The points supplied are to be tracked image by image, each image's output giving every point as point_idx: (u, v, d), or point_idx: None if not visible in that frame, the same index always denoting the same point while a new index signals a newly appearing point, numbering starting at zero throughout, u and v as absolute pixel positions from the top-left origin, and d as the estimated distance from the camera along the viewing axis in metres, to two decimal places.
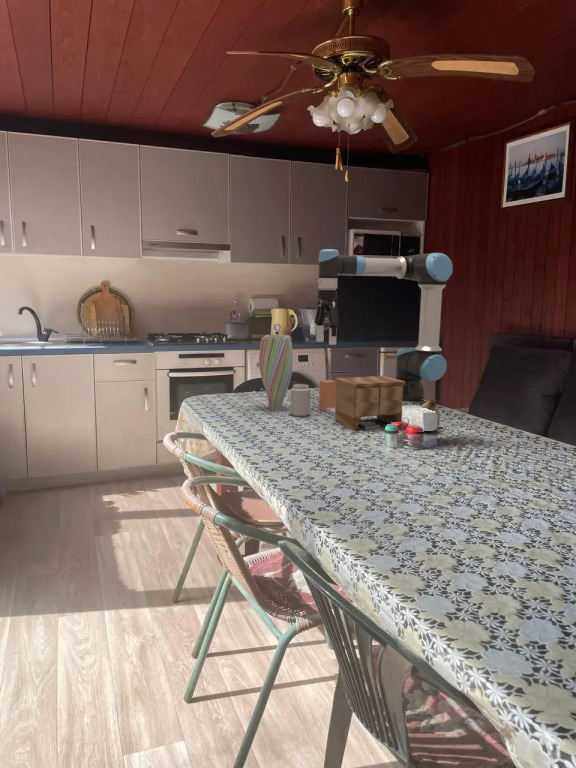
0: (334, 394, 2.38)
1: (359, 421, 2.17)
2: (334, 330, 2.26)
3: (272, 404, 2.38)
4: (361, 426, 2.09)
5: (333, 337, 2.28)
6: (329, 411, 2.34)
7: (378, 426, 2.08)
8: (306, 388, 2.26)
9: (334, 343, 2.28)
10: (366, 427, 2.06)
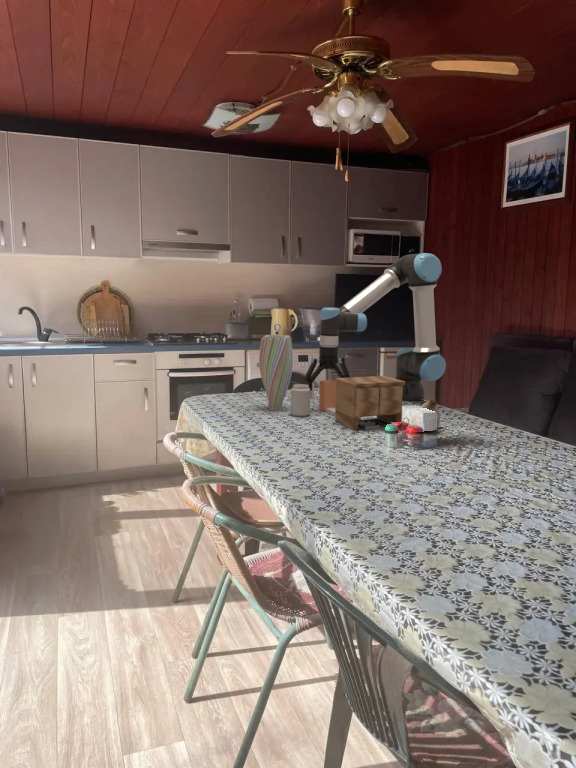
0: (334, 394, 2.38)
1: (359, 421, 2.17)
2: (308, 384, 2.36)
3: (272, 404, 2.38)
4: (361, 426, 2.09)
5: (311, 391, 2.36)
6: (329, 411, 2.34)
7: (378, 426, 2.08)
8: (306, 388, 2.26)
9: (311, 397, 2.36)
10: (366, 427, 2.06)
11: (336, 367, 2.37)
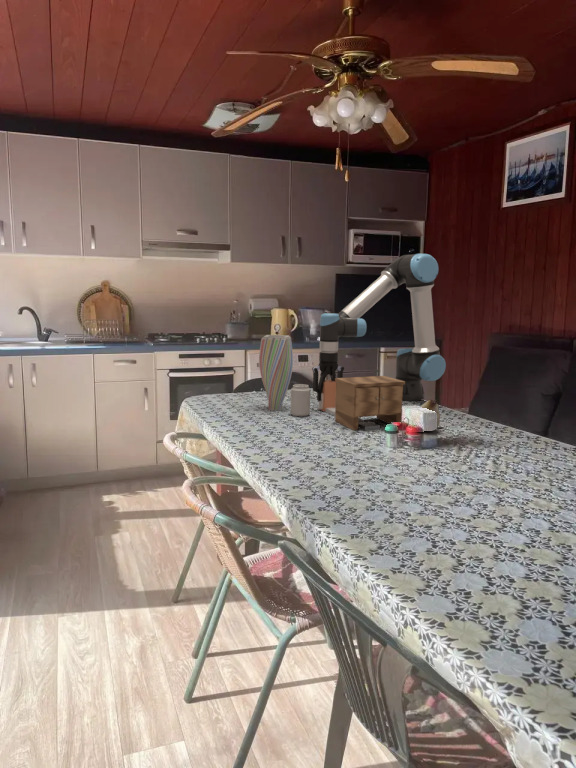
0: (334, 394, 2.38)
1: (359, 421, 2.17)
2: (317, 395, 2.38)
3: (272, 404, 2.38)
4: (361, 426, 2.09)
5: (320, 401, 2.39)
6: (329, 411, 2.34)
7: (378, 426, 2.08)
8: (306, 388, 2.26)
9: (320, 407, 2.39)
10: (366, 427, 2.06)
11: (334, 374, 2.37)
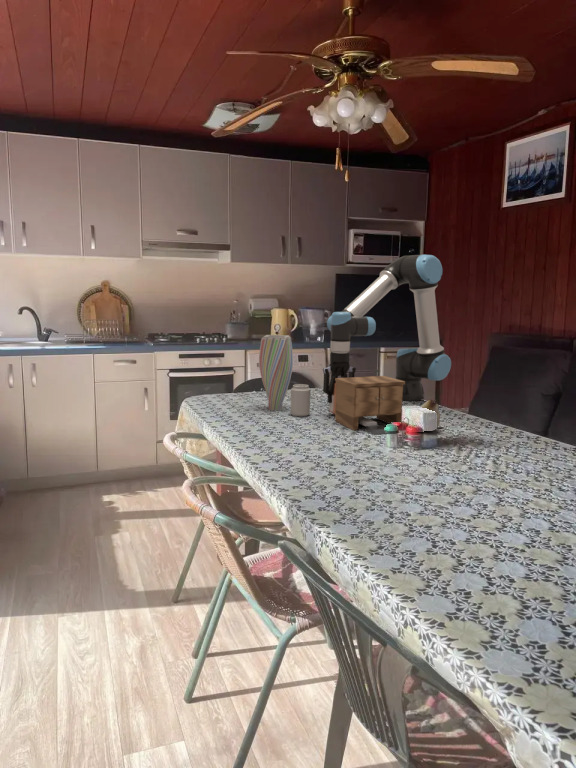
0: None
1: (372, 423, 2.07)
2: (328, 397, 2.29)
3: (271, 404, 2.38)
4: (370, 429, 2.03)
5: (331, 404, 2.30)
6: None
7: None
8: (306, 388, 2.26)
9: (331, 410, 2.30)
10: (375, 430, 2.01)
11: (345, 375, 2.28)
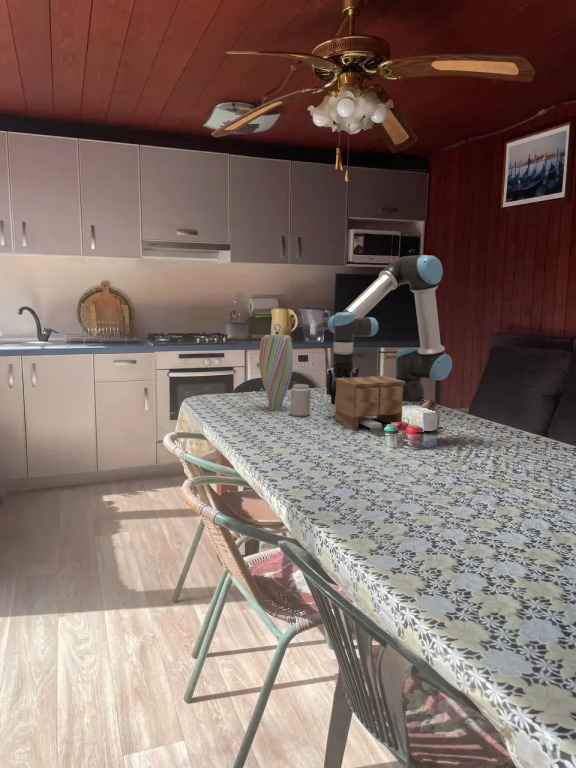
0: None
1: (377, 425, 2.05)
2: (331, 398, 2.27)
3: (272, 404, 2.38)
4: (374, 432, 2.01)
5: (334, 405, 2.27)
6: None
7: None
8: (306, 388, 2.26)
9: (334, 411, 2.27)
10: (380, 433, 1.99)
11: (348, 376, 2.26)
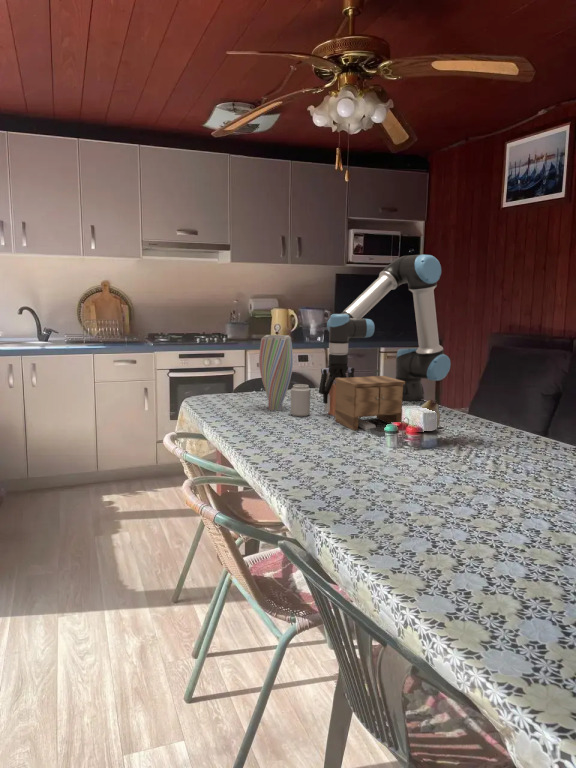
0: None
1: (371, 426, 2.09)
2: (323, 397, 2.30)
3: (272, 404, 2.38)
4: (374, 431, 2.01)
5: (326, 404, 2.30)
6: None
7: None
8: (306, 388, 2.26)
9: (327, 410, 2.30)
10: (380, 433, 1.99)
11: (344, 376, 2.30)
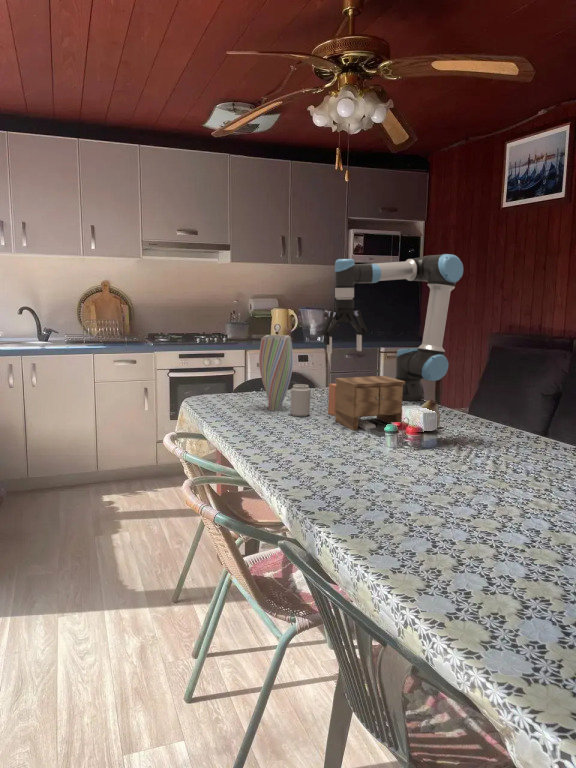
0: None
1: (371, 426, 2.09)
2: (325, 339, 2.32)
3: (272, 404, 2.38)
4: (374, 431, 2.01)
5: (328, 346, 2.33)
6: None
7: None
8: (306, 388, 2.26)
9: (329, 352, 2.32)
10: (380, 433, 1.99)
11: (353, 320, 2.33)
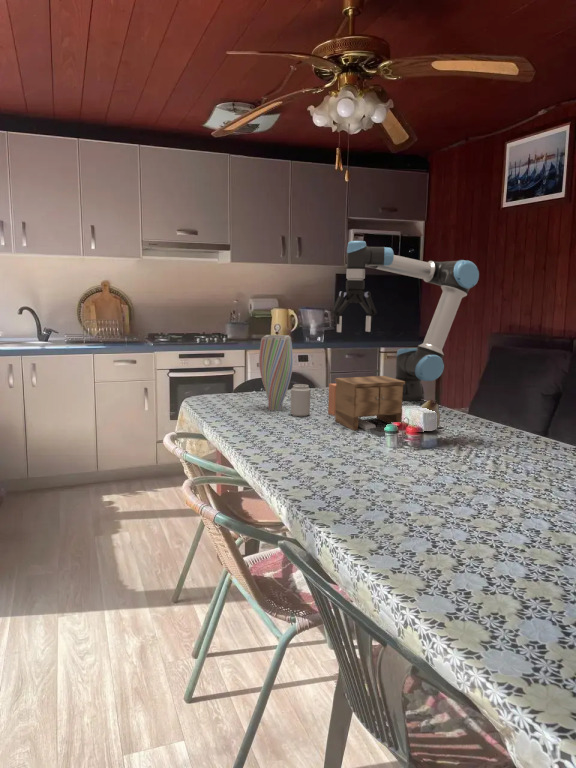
0: None
1: (371, 426, 2.09)
2: (336, 318, 2.39)
3: (271, 404, 2.38)
4: (374, 432, 2.01)
5: (338, 325, 2.39)
6: None
7: None
8: (306, 388, 2.26)
9: (338, 331, 2.39)
10: (380, 433, 1.99)
11: (363, 301, 2.40)
